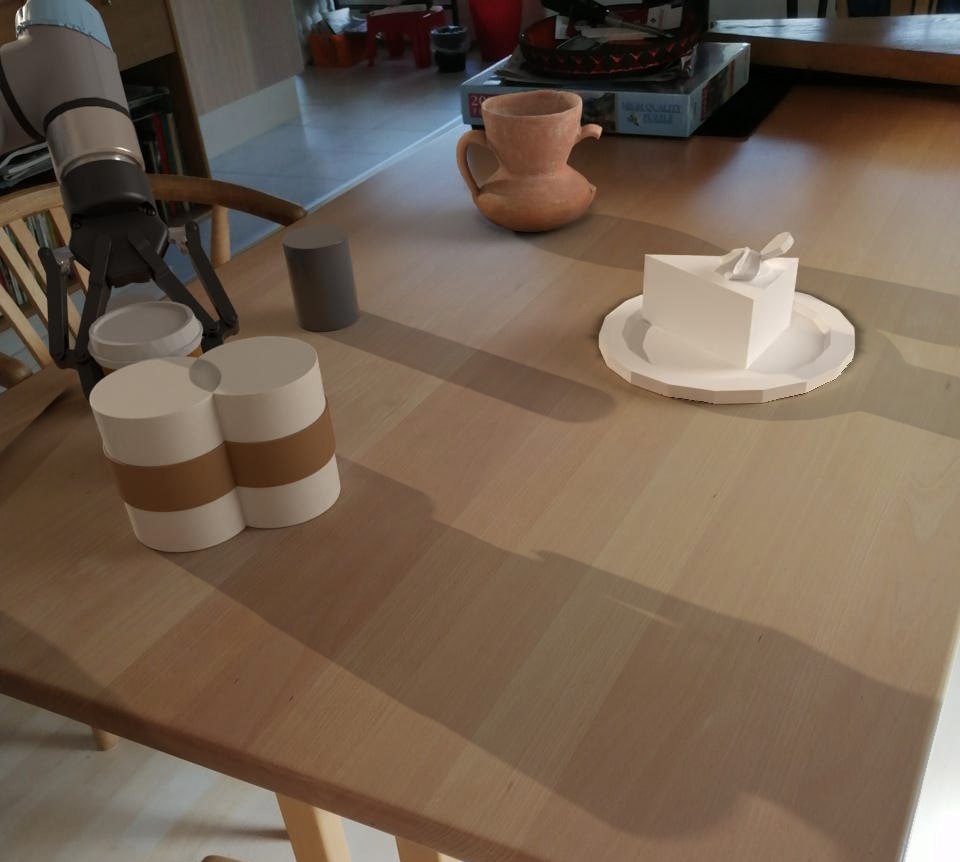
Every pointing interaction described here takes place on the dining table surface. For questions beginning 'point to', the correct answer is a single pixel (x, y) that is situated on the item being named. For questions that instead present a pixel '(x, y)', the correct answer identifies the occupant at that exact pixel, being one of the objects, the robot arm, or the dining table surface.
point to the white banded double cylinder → (219, 441)
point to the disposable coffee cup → (144, 334)
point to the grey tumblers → (309, 278)
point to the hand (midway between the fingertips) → (170, 426)
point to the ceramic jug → (530, 160)
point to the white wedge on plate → (726, 329)
